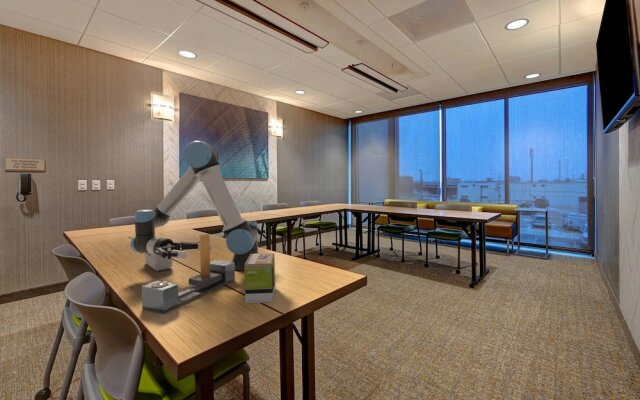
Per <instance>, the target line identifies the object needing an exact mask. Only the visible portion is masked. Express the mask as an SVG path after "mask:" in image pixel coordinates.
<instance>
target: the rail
mask: <svg viewBox="0 0 640 400" xmlns="http://www.w3.org/2000/svg"><path fill="white" fill-rule="evenodd" d="M210 272H213V273H220V274H222V280H220V281H217V282H215V283H213V284H211V285H208V286H206V287H200V286H194V285H189V286H187V287H184V288H182V289H179V284H178V283H172V282H169V281H168V280H156V281H152V282H149V283H147V284H144V285H142V286H141V302H142V307H141V308H142V310H145V311H148V312H149V311H150V312H153V313H158V314H162V315H165V314H167V313H169V312H171V311H174V310H175V309H178V308H179V307H180V308H181V307H182V306H185V305H186V304H188V303H190V302H192V301H194V300H196V299H199V298H200V297H203V296H205V295H208V294H209V293H212V292H213V291H215V290H217V289H220V288H221V287H223V286H225V285H227V284H229V283H232V282H234V281H235V280H236V275H235V274H236V273H235V272H236V270H235V262H232V261H228V260H227V261H226V260H219V259H215V260H212V261H210Z"/></svg>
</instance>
